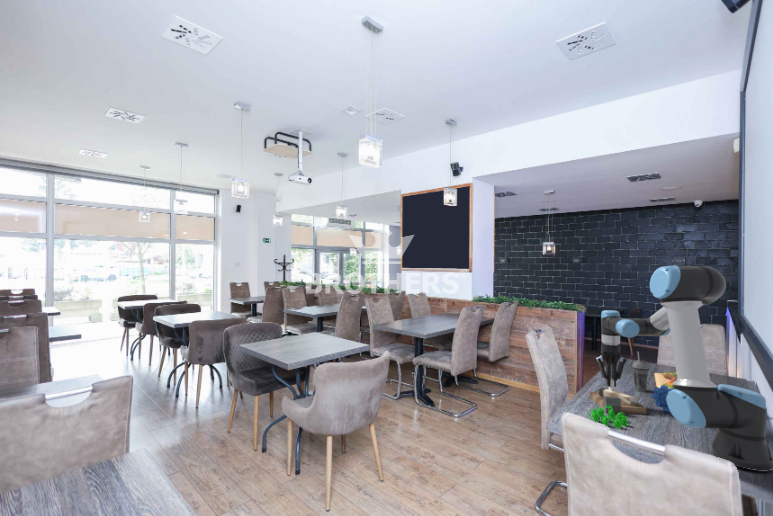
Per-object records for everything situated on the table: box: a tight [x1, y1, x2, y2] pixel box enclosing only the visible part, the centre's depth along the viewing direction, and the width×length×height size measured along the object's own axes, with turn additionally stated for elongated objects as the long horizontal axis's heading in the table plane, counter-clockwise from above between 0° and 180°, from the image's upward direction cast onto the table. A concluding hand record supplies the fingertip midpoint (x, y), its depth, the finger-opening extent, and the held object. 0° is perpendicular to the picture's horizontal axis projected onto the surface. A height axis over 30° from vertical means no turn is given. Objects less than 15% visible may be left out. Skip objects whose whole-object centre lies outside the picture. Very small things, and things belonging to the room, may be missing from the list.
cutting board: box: [654, 371, 677, 389], centre depth 197 cm, size 35×23×8 cm
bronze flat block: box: [589, 391, 647, 415], centre depth 171 cm, size 19×17×7 cm
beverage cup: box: [631, 351, 650, 393], centre depth 191 cm, size 7×7×20 cm
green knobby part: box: [588, 405, 631, 430], centre depth 154 cm, size 15×15×7 cm
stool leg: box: [598, 387, 640, 406], centre depth 170 cm, size 16×4×3 cm, turn 36°
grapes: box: [651, 385, 674, 413], centre depth 163 cm, size 12×7×12 cm, turn 58°
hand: (611, 393), depth 175 cm, fingers closed
